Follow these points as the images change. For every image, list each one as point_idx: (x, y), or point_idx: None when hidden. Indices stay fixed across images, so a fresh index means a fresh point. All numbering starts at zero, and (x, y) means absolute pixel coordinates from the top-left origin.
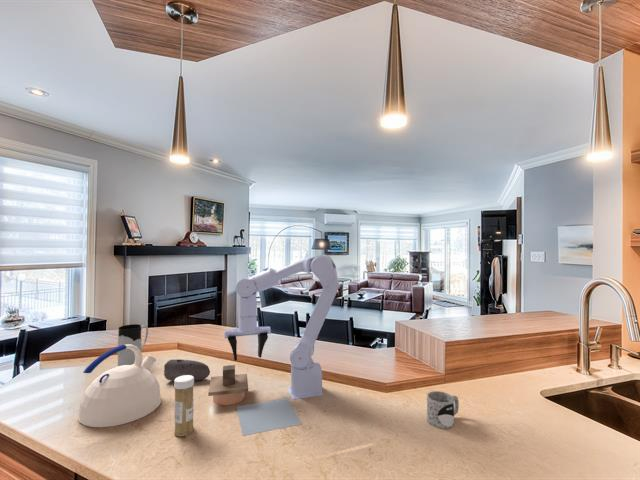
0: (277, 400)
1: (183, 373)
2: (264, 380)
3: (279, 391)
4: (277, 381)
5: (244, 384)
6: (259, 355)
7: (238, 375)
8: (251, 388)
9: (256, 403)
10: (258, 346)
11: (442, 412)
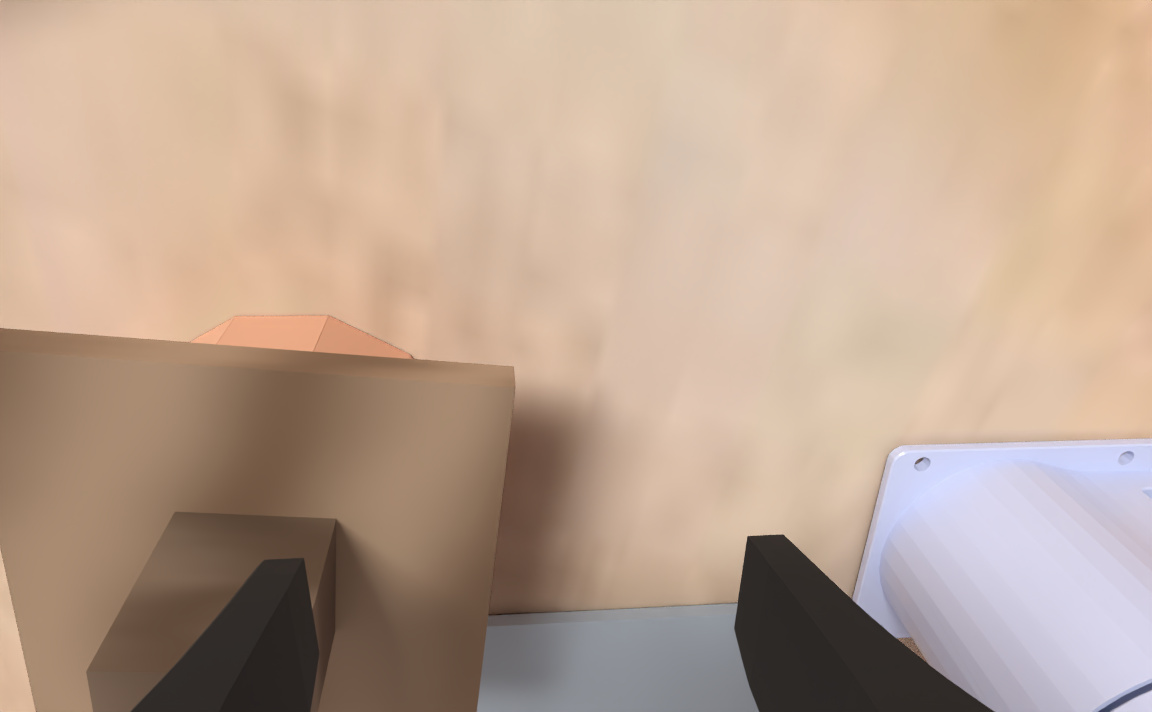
0: (722, 624)
1: None
2: (766, 121)
3: (811, 446)
4: (895, 210)
5: (444, 660)
6: (748, 667)
7: (389, 410)
8: (562, 294)
9: (544, 625)
10: (827, 672)
11: None
